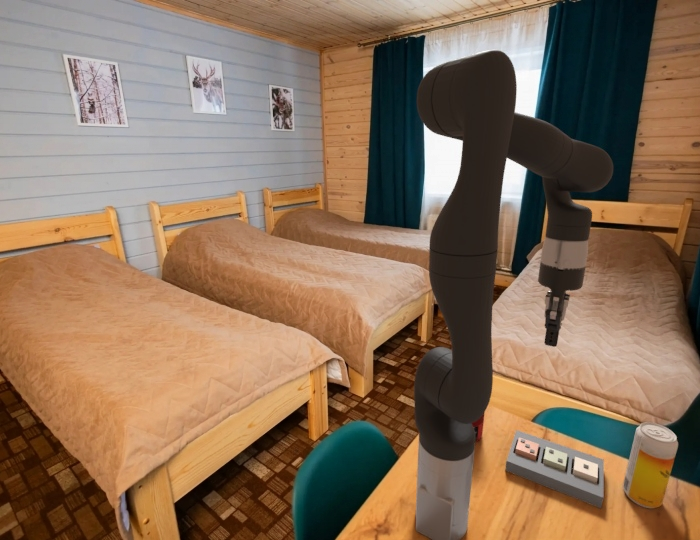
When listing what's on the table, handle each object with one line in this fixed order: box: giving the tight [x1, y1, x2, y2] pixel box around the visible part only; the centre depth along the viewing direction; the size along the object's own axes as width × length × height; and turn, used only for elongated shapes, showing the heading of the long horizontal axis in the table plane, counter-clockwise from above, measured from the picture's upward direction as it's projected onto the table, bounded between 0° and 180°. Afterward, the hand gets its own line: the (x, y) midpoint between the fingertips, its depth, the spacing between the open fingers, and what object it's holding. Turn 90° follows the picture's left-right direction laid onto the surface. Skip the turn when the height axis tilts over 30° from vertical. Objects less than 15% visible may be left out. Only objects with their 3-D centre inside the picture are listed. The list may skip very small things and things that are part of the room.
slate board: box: [505, 429, 605, 509], centre depth 79 cm, size 11×17×2 cm, turn 57°
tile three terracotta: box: [515, 437, 539, 461], centre depth 82 cm, size 4×4×3 cm
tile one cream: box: [571, 457, 598, 483], centre depth 76 cm, size 4×4×3 cm
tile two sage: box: [542, 447, 567, 472], centre depth 79 cm, size 4×4×3 cm
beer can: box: [622, 421, 679, 509], centre depth 71 cm, size 6×6×15 cm
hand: (550, 344), depth 76 cm, fingers closed
